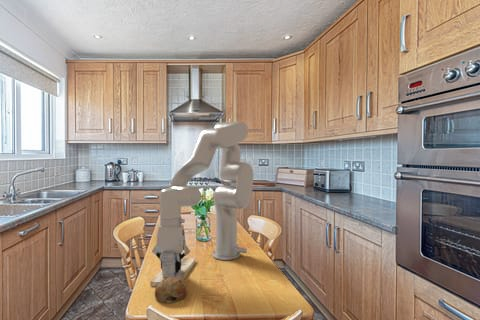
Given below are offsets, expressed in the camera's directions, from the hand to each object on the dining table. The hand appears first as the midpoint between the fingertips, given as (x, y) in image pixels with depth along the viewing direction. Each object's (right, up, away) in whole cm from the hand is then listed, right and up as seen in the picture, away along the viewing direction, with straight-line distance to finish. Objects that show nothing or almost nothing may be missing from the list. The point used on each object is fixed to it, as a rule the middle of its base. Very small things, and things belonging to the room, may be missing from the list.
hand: (171, 270), depth 111 cm
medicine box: (0, -1, +1) cm, 2 cm away
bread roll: (+3, -4, -14) cm, 14 cm away
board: (0, -3, +5) cm, 5 cm away
